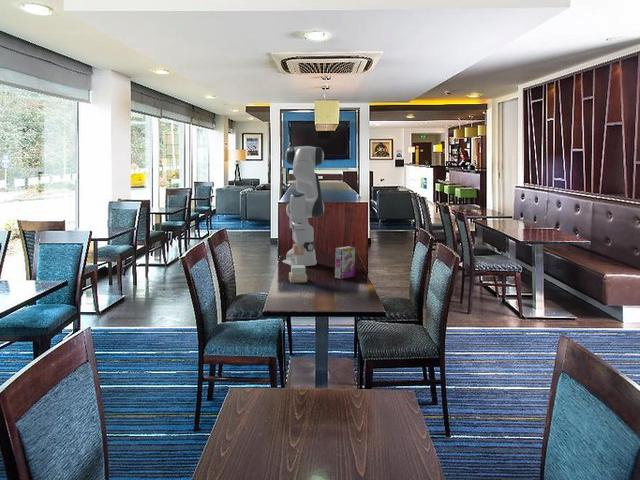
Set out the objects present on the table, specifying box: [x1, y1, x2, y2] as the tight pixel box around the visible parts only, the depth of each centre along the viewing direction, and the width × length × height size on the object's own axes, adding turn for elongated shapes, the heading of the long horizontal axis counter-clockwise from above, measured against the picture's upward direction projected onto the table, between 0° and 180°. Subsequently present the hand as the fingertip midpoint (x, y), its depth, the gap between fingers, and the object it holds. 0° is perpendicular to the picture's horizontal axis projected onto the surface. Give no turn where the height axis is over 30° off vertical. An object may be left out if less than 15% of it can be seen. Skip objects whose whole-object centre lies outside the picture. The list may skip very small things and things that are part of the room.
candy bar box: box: [334, 246, 356, 280], centre depth 302 cm, size 11×5×16 cm, turn 135°
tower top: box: [290, 265, 307, 275], centre depth 294 cm, size 7×7×4 cm
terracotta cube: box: [292, 243, 304, 255], centre depth 293 cm, size 5×5×5 cm
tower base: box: [288, 271, 308, 283], centre depth 295 cm, size 8×8×4 cm
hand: (298, 250), depth 293 cm, fingers closed on terracotta cube, 5 cm apart
